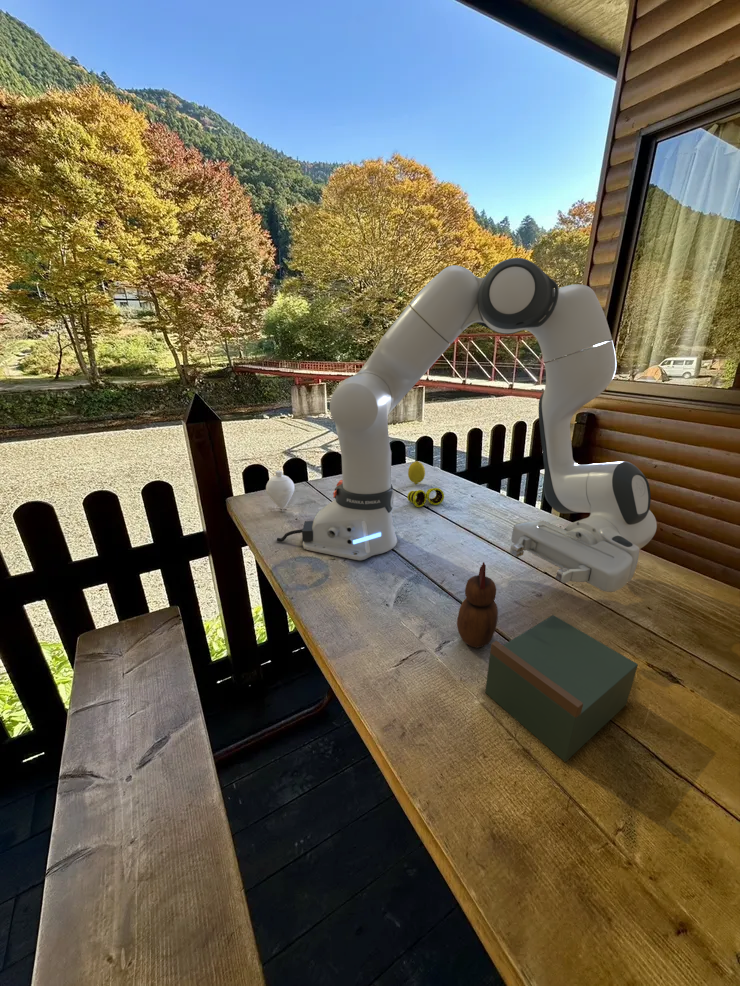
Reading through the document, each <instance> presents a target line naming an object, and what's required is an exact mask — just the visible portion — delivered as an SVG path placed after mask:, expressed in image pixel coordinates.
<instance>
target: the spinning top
mask: <svg viewBox="0 0 740 986" xmlns="http://www.w3.org/2000/svg"><path fill="white" fill-rule="evenodd" d="M274 472H275V475H273V476H271V477H270V478H269V480H268V481H267V483H266V485H265V490H266V494H267V495H268V497H269V498H270V499H271V501H272V502H273V503H274V504H275V505H276V507H278V508H279V509H280V510H281V512H284V509H285V507H286V506H287V505H288V503H289V502H290V501H291V499H292V497H293V495H294V492H295V483H294V481H293V480H292V479H291V478H290V477H289V476H288V475H285V474H283V470H280V469H278V470H275V471H274Z"/></svg>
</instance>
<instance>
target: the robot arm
mask: <svg viewBox="0 0 740 986" xmlns="http://www.w3.org/2000/svg"><path fill="white" fill-rule="evenodd" d="M473 324H479V325H480V326H482V327H484V328H487V329H489V330H491V331H492V332H494V333H497V334H501V335H514V334H517V333H520V332H522V331H527V332H529V333H531V334H532V335H533V337H534V338H535V339H536V341H537V343H538V345H539V348H540V351H541V352H540V353H541V356H542V360H543V365H544V369H545V387H544V391H543V392H542V394H540V397H539V400H538V421H539V422H538V423H539V433H540V442H541V450H542V460H543V471H544V476H543V494H544V498H545V500H546V501H547V503H548V504H549V506H550V507H551V508H552V509H553V510H554V511H556V512H557V513H559V514H580V513H585V514H586V513H587V514H588V513H589V516H588V517H585V518H582V519H579V520H576V521H573V522H571V523H568V524H567V525H566V526H565V527H564V528H562V527H559V526H557V525H555V524H553V523H550V522H548V521H545V520H539V519H537V520H529V521H524V522H520V523H516V524H514V525H513V527H512V531H511V543H512V544H511V546H510V549H509V552H510V555H512V556H514V557H517V558H518V557H521V556H524V553H525V552H524V551H527V552H529V553H530V554H532V555H535V556H536V557H538V558H540V559H541V560H544V561H545V562H547V563H549V564H551V565H553V566H555V567H557V568H558V569H557V571H556V576H555V579H556V580H557V581H559V582H561V583H562V584H566V583H569V582H576V583H584V582H586V583H587V584H589V585H591V586H593V588H594V587H595V588H596V589H597V590H598V589H599V590H600V591H602V592H606V593H615V592H618V591H619V590H621V589H622V588H624V587H625V586H626V585H627V584H628V583H629V582H631V581H632V579H633V578H634V576H635V574H636V573H635V572H636V570H637V567H638V562H639V556H640V550H641V549H642V548H644V547H645V546H647V545H648V544H649V543H650V541H651V540H652V539H653V538H654V536H655V535H656V532H657V528H658V524H657V519H656V517H655V515H654V514H653V512H652V511H651V501H652V499H651V497H652V495H651V494H652V493H651V488H650V487H651V486H650V483H649V481H648V479H647V477H646V475H645V474H644V473H643V472H642V470H640V468H639V467H637V466H636V465H635V464H633V463H631V462H630V461H611V462H600V463H589V464H578V462H576V461H575V460H574V457H573V447H572V445H573V444H572V434H571V422H572V419H573V417H574V415H575V414H576V412H578V411H579V409H581V408H583V407H584V406H585V405H588V403H589V402H592V401H593V400H594V399H596V398H597V397H598V396H600V395H601V394H602V393H603V392H604V391H605V390H606V389H607V388H608V386H609V385H610V384H611V382H612V380H613V379H614V377H615V375H616V372H617V356H616V355H617V354H616V351H615V346H614V342H613V337H612V334H611V330H610V327H609V324H608V319H607V317H606V315H605V312H604V310H603V307H602V305H601V302H600V300H599V299H598V296H597V294H596V292H595V290H594V289H592V288H591V287H590V286H588V285H586V284H580V283H579V284H578V283H577V284H576V283H575V284H569V285H565V286H562V287H559V285H558V283H557V282H556V281H555V280H554V279H552V277H550V276H549V275H548V274H547V273H546V272H545V271H543V270H542V269H541V267H540V266H538V265H537V264H536V263H534V262H533V261H530V260H529V259H526V258H523V257H510V258H508V259H505V260H502V261H499V263H497V264H496V265H494V266H493V267H492V268H491V269H490V270H489V271H488V272H487V273H486V275H485V276H484V277H479V276H476V275H475V274H474V273H473V272H472V271H471V270H470V269H468V268H466V267H464V266H461V265H456V264H455V265H449V266H447V267H445V268H443V269H442V270H440V272H438V274H436V275H435V276H434V277H433V278H432V279H431V280H429V282H428V283H427V284H425V285H424V286H423V288H421V290H420V291H418V293H417V294H416V295H415V296H414V297H413V299H412V300H411V301H410V302H409V304H407V306H406V307H405V308H404V310H403V311H402V312H401V313H400V314H399V316H397V318H396V319H395V321H394V322H393V323H392V325H391V326H390V327H389V328H388V329H387V330H386V332H385V333H384V335H383V336H382V337H381V338H380V340H379V341H378V344H377V345H376V347H375V349H374V350H373V351H372V353H371V355H370V356H369V357H368V359H367V360H366V361H365V363H364V365H362V367H361V368H360V369H359V371H357V372H356V373H355V374H354V375H352V376H349V377H347V378H345V379H343V380H342V381H341V382H340V383H338V385H337V386H336V388H335V389H334V391H333V393H332V395H331V398H330V401H329V412H330V416H331V418H332V420H333V422H334V424H335V429H336V434H337V438H338V439H337V440H338V443H339V448H340V455H341V475H342V479H340V480H339V481H338V482H337V483H336V487H335V488H334V491H333V495H332V496H333V500H332V501H330V502H328V504H326V505H325V506H323V507H322V508H321V509H320V510H319V511H318V512H317V513H316V514H315V517H314V518H313V520H305V521H304V523H303V527H302V528H300V529H294V530H290V531H288V532H286V533H285V534H283V536H282V537H276V542H284V541H285V540H286V539H287V538H288V537H289V536H292V535H295V534H296V535H297V534H301V538H302V548H303V549H304V550H307V551H311V552H316V553H321V554H324V555H325V554H326V555H331V556H335V557H340V558H346V559H350V560H354V561H364V560H367V559H368V558H371V557H373V556H377V555H381V554H384V553H386V552H390V551H391V550H393V549H395V547H396V546H397V544H398V537H397V534H396V531H395V526H394V519H393V508H394V486H393V484H392V450H391V444H390V434H389V421H388V418H389V414H391V412H392V411H393V410H394V409H395V407H397V405H398V404H399V403H400V402H401V401H402V400H403V399H404V397H405V396H407V394H408V393H409V392H410V391H411V390H412V388H414V386H415V385H416V384H417V383H418V382H419V381H420V380H421V379H422V378H423V376H425V374H427V372H428V371H429V370H430V369H431V368H432V366H433V365H434V364H435V363H436V362H437V361H438V359H440V357H441V356H442V355H443V354H444V353H445V352H446V351H447V350H448V349H449V348H450V346H451V345H452V344H453V343H454V342H455V341H456V340H457V338H458V337H459V336H460V335H461V334H462V333H463V332H464V331H465V330H466V329H467V328H468V327H470V326H471V325H473Z"/></svg>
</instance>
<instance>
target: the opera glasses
mask: <svg viewBox="0 0 740 986" xmlns="http://www.w3.org/2000/svg"><path fill="white" fill-rule="evenodd" d="M432 492H435V496H434V497H433V498H431V497H430V494H431V493H432ZM444 499H445V492H444V491H443V490H442V489H441V488H439V487H432V488H429V489H427V490H426V491H424V490H423V489H417V490H411V491H409V492H408V494H407V501H408V502H409V503H412V504H413V505H414V506H415V507H417V508H421V507H423V506H424V505H426V502H427V501H428V503H429V504H431V505H434V506H437V505H440V504H442V503H443V502H444Z"/></svg>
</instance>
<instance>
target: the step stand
mask: <svg viewBox="0 0 740 986" xmlns="http://www.w3.org/2000/svg"><path fill="white" fill-rule="evenodd" d="M489 652H490V653H489V659H488V666H487V667H488V669H487V676H486V683H485V694H486V695H487V696H489V698H490V699H492V700H493V701H494V702H495V703H496V704H497V705H499V706H500V707H501V708H502V709H504V710H505V711H506V712H507V713H508V714H509V715H510V716H511V717H513V719H515V720H516V721H517V722H518V723H519V724H520V725H521V726H522V727H524V728H525V729H526V730H527V731H529V732H530V733H531V734H532V735H533V736H534V737H536V738H537V739H538V740H539V741H540V742H541V743H542V744H544V746H546V747H547V748H548V749H550V750H551V752H553V753H554V754H555V755H556V756H558V758H559V759H561V760H562V761H563V762H565V763H567V761H568V760H569V759H571V758H572V756H574V755H575V754H576V753H577V752H578V751H579V750H581V748H582V747H584V745H586V743H587V742H589V741H590V740H591V739H592V738H593V737H594V736H595V735H596V734H597V733H598V732H599V731H601V729H603V727H604V726H606V725H607V724H608V723H609V722H610V721H611V720H612V719H613V718H614V717H615V716H616V715H617V714H618V713H620V711H622V710H623V709H624V708H625V707H626V706H627V704H628V699H629V697H630V693H631V690H632V687H633V683H634V680H635V676H636V673H637V670H638V666H639V664H638V663H636V662H635V661H633V660H631V659H630V658H628V657H626V656H624V655H623V654H622V653H620V652H618V651H616V650H615V649H612V648H611V647H609V646H608V645H607V644H606V645H605V644H604V643H603V642H601V641H599V640H597V639H595V638H594V637H592V636H590V635H588V634H587V633H586V632H583V631H582V630H580V629H578V628H577V627H575V626H573V625H571V624H570V623H568V622H566V621H564V620H563V619H561V618H560V617H558V616H556V615H554V614H552V615H550V616H548V617H547V618H545V619H544V620H542V621H540V622H539V623H537V624H536V625H534V626H532V627H531V628H529V629H527V630H525V631H524V632H523V633H521V634H518V635H517V636H516V637H514V638H512V639H511V640H509V641H508V642H506V643H504V644H502V643H500V642H499V641H498V640H494V641H493V642H491V643H490V651H489Z"/></svg>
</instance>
